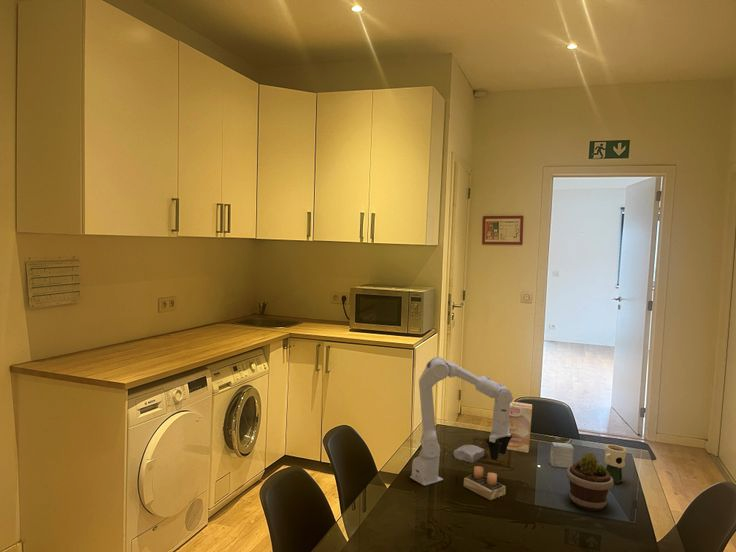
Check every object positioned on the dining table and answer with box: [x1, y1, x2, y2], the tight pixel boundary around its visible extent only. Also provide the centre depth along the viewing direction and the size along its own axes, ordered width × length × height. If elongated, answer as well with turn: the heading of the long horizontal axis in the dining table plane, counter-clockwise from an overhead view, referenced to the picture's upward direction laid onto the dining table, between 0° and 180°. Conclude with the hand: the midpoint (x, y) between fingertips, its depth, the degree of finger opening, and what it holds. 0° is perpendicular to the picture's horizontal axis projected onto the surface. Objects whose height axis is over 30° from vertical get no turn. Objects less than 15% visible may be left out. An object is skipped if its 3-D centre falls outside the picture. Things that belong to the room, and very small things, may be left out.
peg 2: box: [486, 472, 498, 486], centre depth 182 cm, size 3×3×3 cm
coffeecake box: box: [506, 401, 533, 454], centre depth 229 cm, size 15×7×20 cm, turn 73°
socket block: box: [463, 473, 507, 501], centre depth 185 cm, size 8×12×4 cm, turn 37°
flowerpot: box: [565, 450, 615, 512], centre depth 179 cm, size 14×15×20 cm
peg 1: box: [473, 465, 484, 479], centre depth 187 cm, size 3×3×3 cm
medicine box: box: [549, 441, 575, 469], centre depth 212 cm, size 8×4×9 cm, turn 84°
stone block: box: [453, 444, 485, 464], centre depth 216 cm, size 12×5×10 cm
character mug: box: [604, 444, 627, 484], centre depth 200 cm, size 11×7×13 cm, turn 120°
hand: (498, 456), depth 191 cm, fingers open, 7 cm apart
